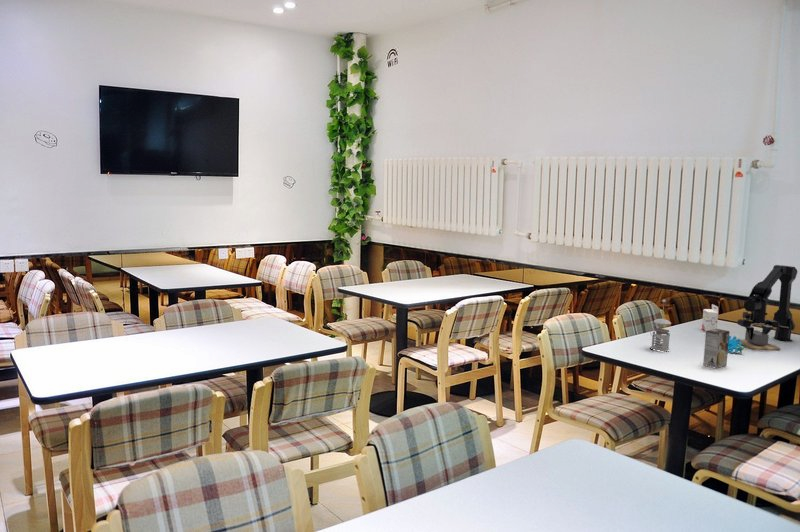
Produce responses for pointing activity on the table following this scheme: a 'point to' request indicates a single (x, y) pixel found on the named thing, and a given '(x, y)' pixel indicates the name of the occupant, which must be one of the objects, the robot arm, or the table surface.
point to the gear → (734, 345)
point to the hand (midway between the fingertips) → (756, 339)
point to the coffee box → (716, 348)
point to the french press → (660, 335)
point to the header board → (757, 346)
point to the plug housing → (758, 338)
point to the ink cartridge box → (710, 318)
